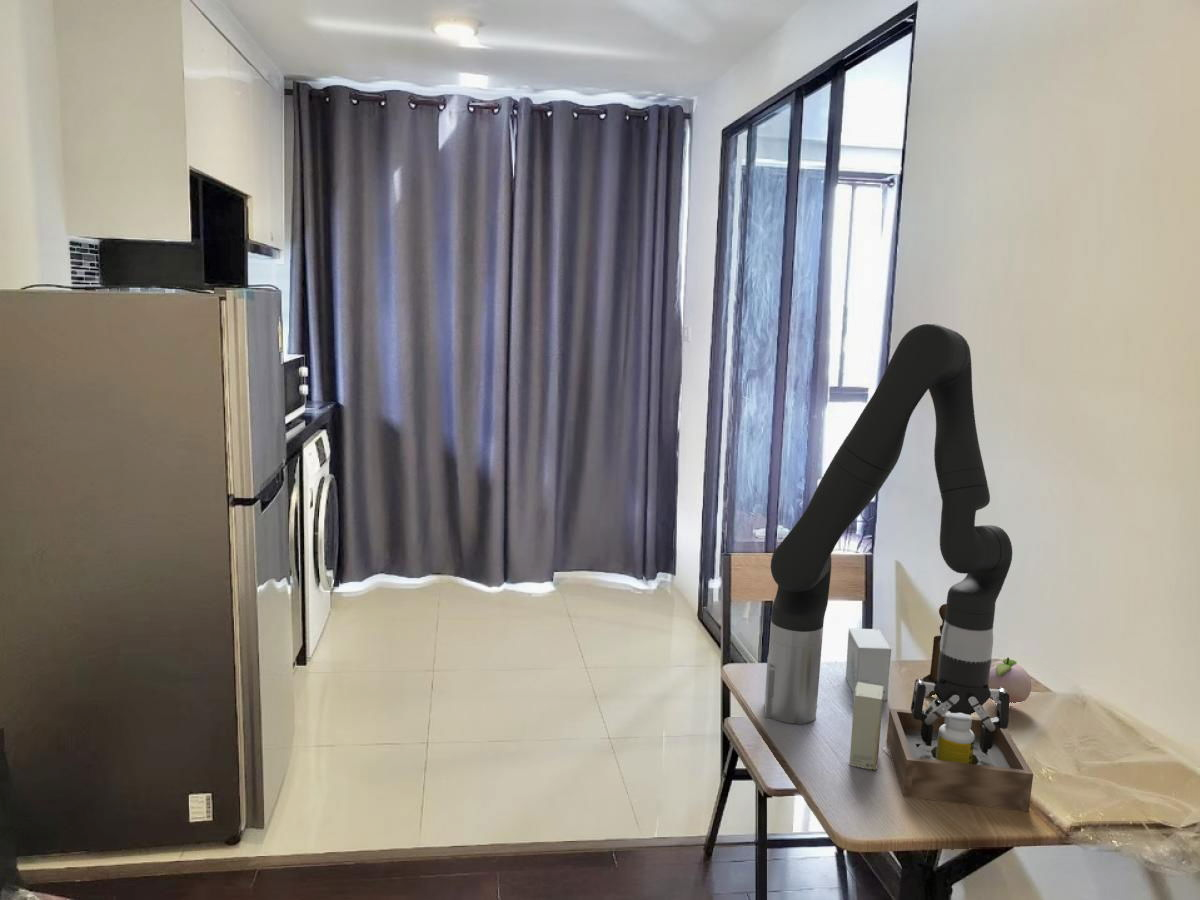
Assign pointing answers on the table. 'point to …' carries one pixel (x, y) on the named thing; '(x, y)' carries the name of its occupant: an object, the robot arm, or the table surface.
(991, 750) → the bore box
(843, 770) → the table surface
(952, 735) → the supplement bottle
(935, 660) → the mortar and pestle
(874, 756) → the skincare box
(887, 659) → the skincare box
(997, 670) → the decorative fruit
